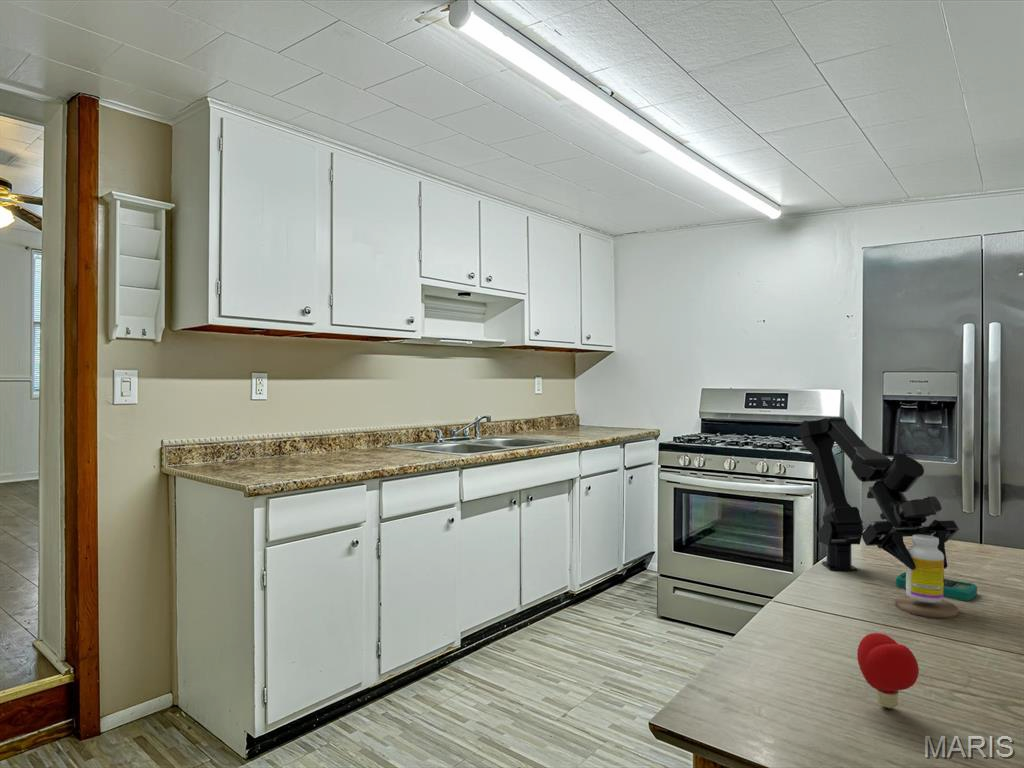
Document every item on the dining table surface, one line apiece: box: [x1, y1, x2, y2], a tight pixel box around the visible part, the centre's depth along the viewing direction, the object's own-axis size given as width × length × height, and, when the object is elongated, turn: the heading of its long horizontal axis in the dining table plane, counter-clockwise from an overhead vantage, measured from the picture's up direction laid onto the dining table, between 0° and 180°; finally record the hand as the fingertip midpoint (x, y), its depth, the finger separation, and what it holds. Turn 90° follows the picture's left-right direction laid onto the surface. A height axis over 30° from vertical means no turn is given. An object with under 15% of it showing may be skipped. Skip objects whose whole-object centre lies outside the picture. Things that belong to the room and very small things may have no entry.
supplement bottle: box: [905, 534, 945, 603], centre depth 135 cm, size 7×7×13 cm
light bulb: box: [856, 632, 920, 711], centre depth 94 cm, size 9×7×10 cm
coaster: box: [894, 595, 959, 619], centre depth 135 cm, size 11×11×1 cm
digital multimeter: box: [895, 571, 978, 602], centre depth 147 cm, size 7×15×3 cm, turn 41°
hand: (929, 568), depth 134 cm, fingers closed on supplement bottle, 7 cm apart
